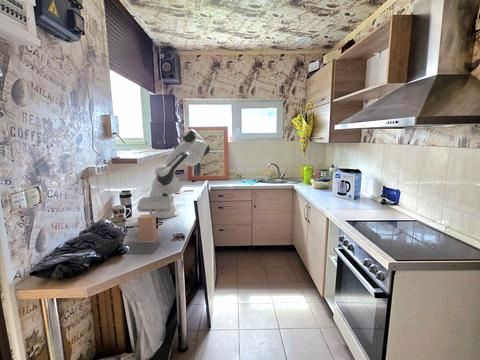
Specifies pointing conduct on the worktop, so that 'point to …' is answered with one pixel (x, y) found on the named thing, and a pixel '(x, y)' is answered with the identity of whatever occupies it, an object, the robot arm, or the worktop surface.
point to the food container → (118, 222)
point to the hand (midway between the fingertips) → (152, 217)
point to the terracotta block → (147, 228)
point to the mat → (142, 248)
